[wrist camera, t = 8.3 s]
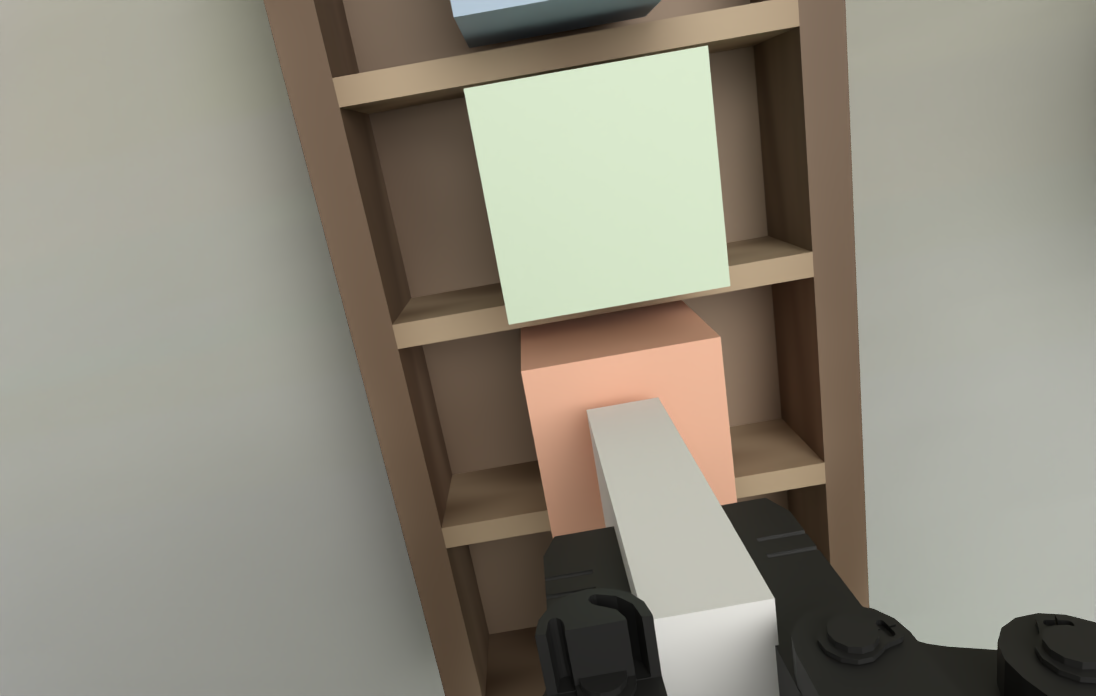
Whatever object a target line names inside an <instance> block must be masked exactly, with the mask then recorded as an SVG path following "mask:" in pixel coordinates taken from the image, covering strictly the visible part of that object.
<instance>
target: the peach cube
mask: <svg viewBox="0 0 1096 696" xmlns="http://www.w3.org/2000/svg"><path fill="white" fill-rule="evenodd" d="M521 374H522V379H523V385H524V390H525V395H526V400H527V406H528V411H529V416H530V422H531V427H532V432H533V437H534V443H535V448H536V453H537V458H538V464H539V469H540V474H541V479H542V485H543V490H544V495H545V500H546V506H547V511H548V516H549V521H550V527H551V532H552V537H553V538H554V537H555V536H561V535H566V534H572V533H578V532H583V531H589V530H595V529H601V528H606V526H605V520H604V514H603V508H602V502H601V496H600V490H599V484H598V478H597V472H596V466H595V459H594V453H593V447H592V441H591V435H590V429H589V423H588V417H587V411H586V410H588V409H594V408H600V407H605V406H611V405H617V404H623V403H628V402H634V401H640V400H645V399H651V398H657V397H658V398H659V399H660V401H661V403H662V405H663V406H664V408H665V410H666V411H667V413H668V415H669V417H670V418H671V420H672V422H673V424H674V425H675V427H676V429H677V430H678V432H679V434H680V436H681V437H682V439H683V441H684V443H685V444H686V446H687V448H688V449H689V451H690V453H691V455H692V456H693V458H694V460H695V462H696V463H697V465H698V467H699V468H700V470H701V472H702V474H703V475H704V477H705V479H706V481H707V482H708V484H709V486H710V487H711V489H712V491H713V493H714V494H715V496H716V498H717V500H718V501H719V503H720V505H725V504H731V503H737V496H736V486H735V476H734V466H733V456H732V446H731V436H730V426H729V416H728V406H727V396H726V386H725V376H724V366H723V356H722V346H721V337H720V336H719V335H718V334H717V333H716V332H715V331H714V330H713V329H712V328H711V327H710V326H709V325H708V324H707V323H705V322H704V321H703V320H702V319H701V318H700V317H699V316H698V315H697V314H696V313H695V312H694V311H693V310H692V309H691V308H690V307H689V306H687V305H686V304H685V303H684V302H683V301H682V300H678V301H672V302H666V303H660V304H655V305H649V306H643V307H637V308H632V309H626V310H620V311H614V312H609V313H603V314H597V315H591V316H586V317H580V318H574V319H568V320H563V321H557V322H551V323H545V324H540V325H534V326H528V327H522V328H521Z"/></svg>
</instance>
